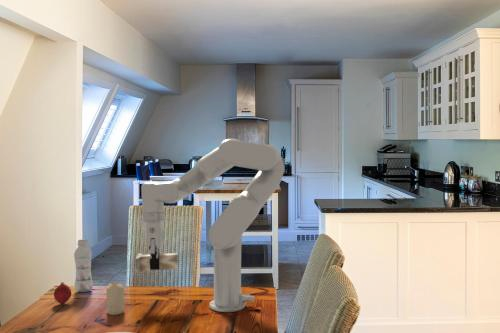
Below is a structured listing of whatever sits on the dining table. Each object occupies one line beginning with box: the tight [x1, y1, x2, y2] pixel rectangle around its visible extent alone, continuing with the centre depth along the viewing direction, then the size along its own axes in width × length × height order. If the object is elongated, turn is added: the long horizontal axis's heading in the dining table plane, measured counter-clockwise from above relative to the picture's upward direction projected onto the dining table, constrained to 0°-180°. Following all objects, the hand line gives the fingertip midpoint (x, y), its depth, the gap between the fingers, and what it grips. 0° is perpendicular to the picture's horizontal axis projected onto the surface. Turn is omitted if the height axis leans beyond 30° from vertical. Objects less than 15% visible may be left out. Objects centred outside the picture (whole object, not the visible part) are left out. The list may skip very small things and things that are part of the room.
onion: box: [53, 281, 72, 305], centre depth 172 cm, size 6×6×8 cm
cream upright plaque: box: [134, 252, 179, 274], centre depth 172 cm, size 14×8×5 cm, turn 96°
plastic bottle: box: [73, 238, 94, 293], centre depth 186 cm, size 6×7×20 cm
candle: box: [106, 281, 125, 316], centre depth 164 cm, size 6×6×10 cm
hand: (155, 267), depth 172 cm, fingers closed on cream upright plaque, 3 cm apart
